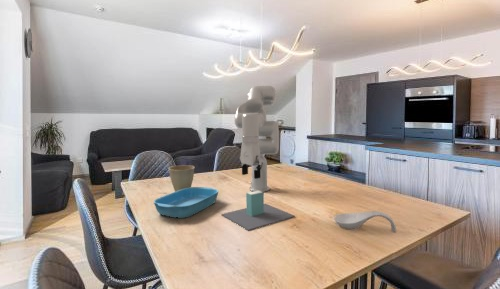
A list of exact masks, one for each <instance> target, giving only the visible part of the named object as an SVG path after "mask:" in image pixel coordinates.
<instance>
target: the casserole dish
mask: <svg viewBox="0 0 500 289" xmlns="http://www.w3.org/2000/svg"><path fill="white" fill-rule="evenodd" d="M218 194H219V190H218V189H217V188H213V187H210V186H209V187H208V186H191V187H189V188H184V189H181V190H178V191H176V192H175V191H174V192H171V193H168V194H165V195H162V196H160V197H157V198H156V199H155V200H153V204H154V207H155V209H156V211H157V213H158V214H159V215H161V214H162V216H164V215H166V216H165V217H169V216H170V217H172V218H176V217H178V218H177V219H186V218H189V217H192V216H193V214H194V215H196V214H197V213H199V212H202V211H203V210H204V209H207V208H208V207H209V208H210V206H212V205H213V204H214V203H216V201H217V198H218ZM195 213H196V214H195ZM185 217H186V218H185Z"/></svg>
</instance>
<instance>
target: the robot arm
mask: <svg viewBox="0 0 500 289" xmlns="http://www.w3.org/2000/svg"><path fill="white" fill-rule="evenodd" d="M246 97H247V100H246V101H244V102H243V103H241V104H240V105H239V106H238V107H237V108H236V111H235V115H234V125H235V127H236V128H239V129H242V131H241V132H242V135H241V137H242V142H241V147H240V156H239V162H240V166H241V175H242V176H245V175H248V174H249V166H251V181H249V184H250V187H248V189H249V191H250V192H254V191H261V192H268V191H270V189H271V187H269V185H268V161H267V159H266V157H265V156H264V155H277V154H278V153H279V149H280V141H279V140H280V138H279V137H280V134H279V133H280V132H279V130H280V128H279V123H278V122H277V121H275V120H267V112H266V110H265V108H264V107H263V106H275V105H276V103H277V100H278V98H277V97H278V96H277V92H276V89H275V87H273V86H272V85H255V86H254V85H253V86H252V87H251V88H250V89H249V92H248V93H247V95H246ZM260 137H270V138H260Z"/></svg>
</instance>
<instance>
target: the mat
mask: <svg viewBox="0 0 500 289" xmlns="http://www.w3.org/2000/svg"><path fill="white" fill-rule="evenodd" d="M221 216H222V217H224V218H225V219H226V220H229V221H230V220H231V221H230V222H232V223H234V224H235V223H236V224H235V225H237V224H238V225H237V226H239V227H240V226H241V228H242V227H243V228H242V229H244V228H245V229H244V230H246V231H247V230H248V232H250V231H253V230H257V229H260V228H263V227H266V225H267V226H270V225H273V224H276V223H280V222H283V221H286V220H290V219H293V218H296V216H295V215H294V214H292V213H289V212H287V211H284V210H282V209H280V208H277V207H275V206H273V205H270V204H268V203H264V213H263V214H259V215H255V216H250V215H248V214H247V207H245V208H240V209H237V210H232V211H228V212H225V213H222V214H221ZM269 224H270V225H269ZM262 226H263V227H262ZM259 227H260V228H259ZM256 228H257V229H256ZM252 229H253V230H252ZM249 230H250V231H249Z"/></svg>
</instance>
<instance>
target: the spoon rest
mask: <svg viewBox="0 0 500 289" xmlns="http://www.w3.org/2000/svg"><path fill="white" fill-rule="evenodd" d="M374 217H375V218H376V217H381V218H384V219H386V220H387V221H389V223H390V227H391V231H392V233H396V232H397V226H396V224H395V222H394V220H393V219H392V217H391V216H390V215H388V214H387V213H385V212H382V211H378V210H377V211H375V210H374V211H365V212H345V213H343V212H342V213H338V214H335V216H334V217H333V220H334V222H335V224H337V225H338V226H339V227H341V228H343V229H346V230H357V229H358V228H360V227H361V226H363V225H364V224H365V223H366V222H368V221H369V220H371V219H372V218H374Z"/></svg>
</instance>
